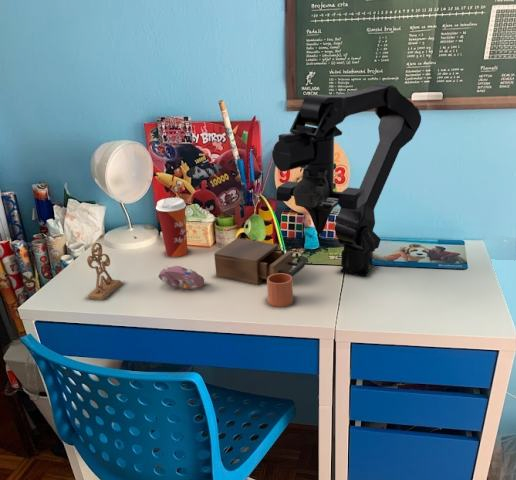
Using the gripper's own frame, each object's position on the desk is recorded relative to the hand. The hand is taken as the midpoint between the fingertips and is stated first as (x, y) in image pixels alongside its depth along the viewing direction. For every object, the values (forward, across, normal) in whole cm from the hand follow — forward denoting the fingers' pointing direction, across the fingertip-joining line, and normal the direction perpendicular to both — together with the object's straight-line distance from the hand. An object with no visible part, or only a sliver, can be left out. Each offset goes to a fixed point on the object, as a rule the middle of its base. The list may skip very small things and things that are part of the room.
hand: (319, 233), depth 129 cm
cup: (+13, -5, -11) cm, 17 cm away
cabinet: (+13, -19, 0) cm, 23 cm away
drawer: (+12, -12, 0) cm, 17 cm away
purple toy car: (+13, -29, -14) cm, 35 cm away
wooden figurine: (+13, -45, -23) cm, 52 cm away
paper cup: (+13, -43, +3) cm, 45 cm away
